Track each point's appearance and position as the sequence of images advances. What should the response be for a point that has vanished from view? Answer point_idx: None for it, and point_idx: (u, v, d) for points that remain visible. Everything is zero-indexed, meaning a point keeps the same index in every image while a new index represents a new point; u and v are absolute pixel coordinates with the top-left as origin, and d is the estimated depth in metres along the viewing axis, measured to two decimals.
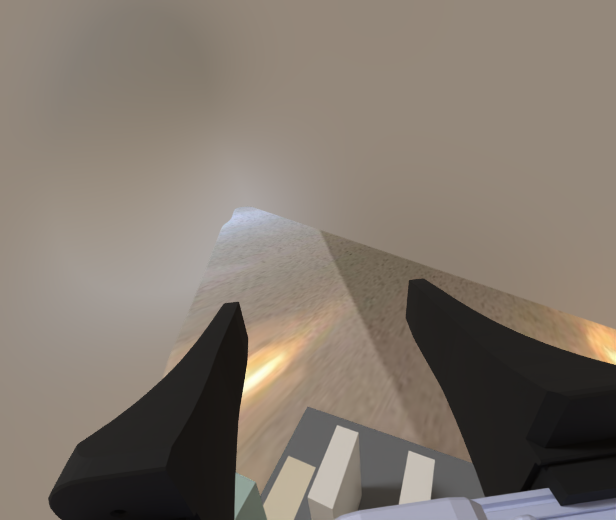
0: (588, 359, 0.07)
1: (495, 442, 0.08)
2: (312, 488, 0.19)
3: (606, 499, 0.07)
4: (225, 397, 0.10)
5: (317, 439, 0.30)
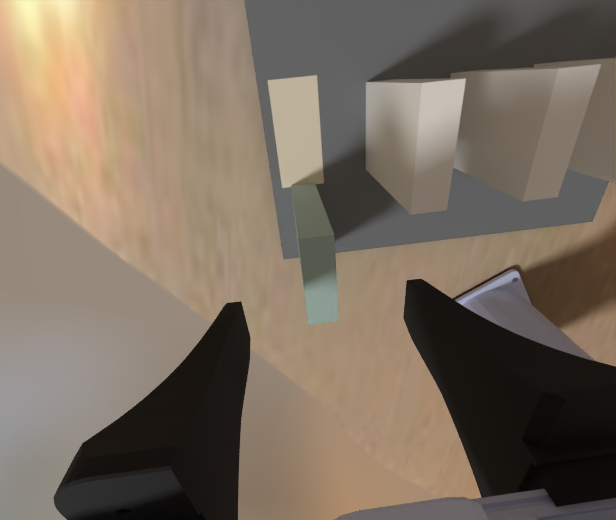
0: (584, 360, 0.07)
1: (492, 443, 0.08)
2: (413, 202, 0.13)
3: (606, 499, 0.07)
4: (228, 397, 0.10)
5: (295, 22, 0.16)
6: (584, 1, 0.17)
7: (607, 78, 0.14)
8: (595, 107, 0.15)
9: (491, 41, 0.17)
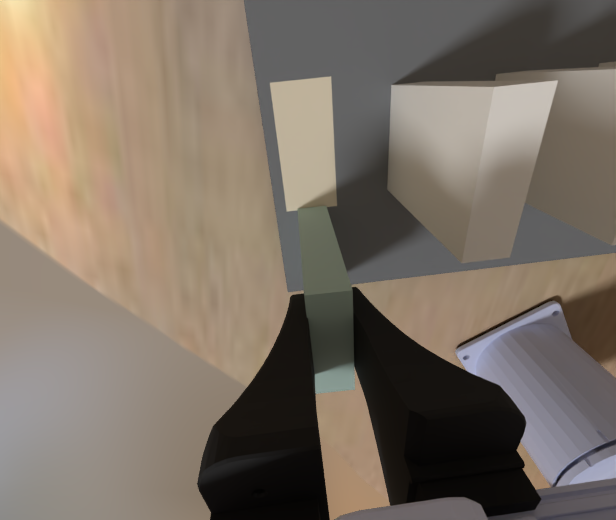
0: (471, 375, 0.07)
1: (391, 457, 0.08)
2: (466, 247, 0.10)
3: (606, 499, 0.07)
4: None
5: (305, 9, 0.13)
6: None
7: None
8: None
9: (550, 34, 0.14)
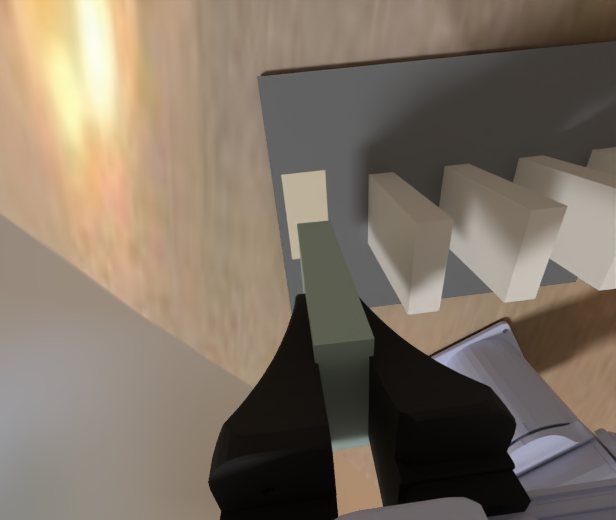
0: (462, 376, 0.07)
1: (384, 458, 0.08)
2: (410, 305, 0.15)
3: (606, 499, 0.07)
4: None
5: (306, 129, 0.18)
6: (562, 109, 0.19)
7: (579, 192, 0.16)
8: (569, 213, 0.17)
9: (481, 141, 0.20)
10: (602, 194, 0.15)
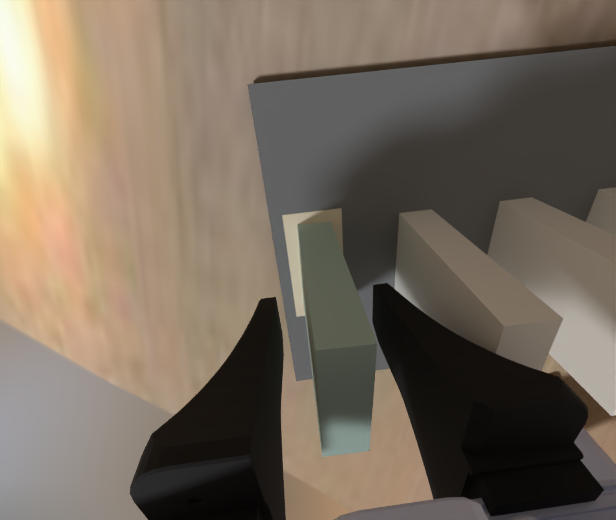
0: (526, 368, 0.07)
1: (440, 450, 0.08)
2: None
3: (606, 499, 0.07)
4: (273, 391, 0.10)
5: (317, 156, 0.13)
6: None
7: None
8: None
9: (551, 168, 0.15)
10: None
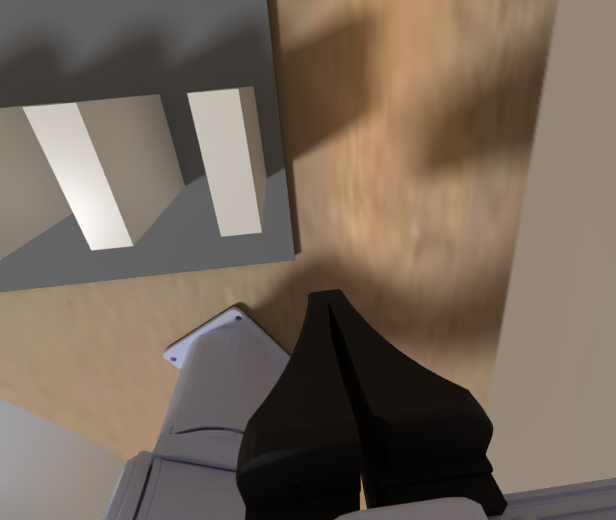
0: (441, 379, 0.07)
1: (365, 461, 0.08)
2: None
3: (606, 499, 0.07)
4: None
5: None
6: (150, 30, 0.15)
7: None
8: None
9: (62, 72, 0.16)
10: None
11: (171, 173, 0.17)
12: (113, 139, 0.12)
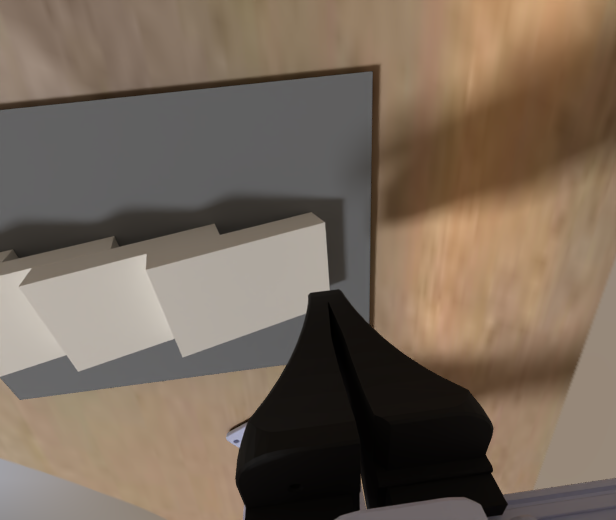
0: (441, 379, 0.07)
1: (365, 461, 0.08)
2: None
3: (606, 499, 0.07)
4: None
5: None
6: (250, 165, 0.15)
7: None
8: None
9: (157, 204, 0.15)
10: None
11: None
12: (76, 300, 0.13)
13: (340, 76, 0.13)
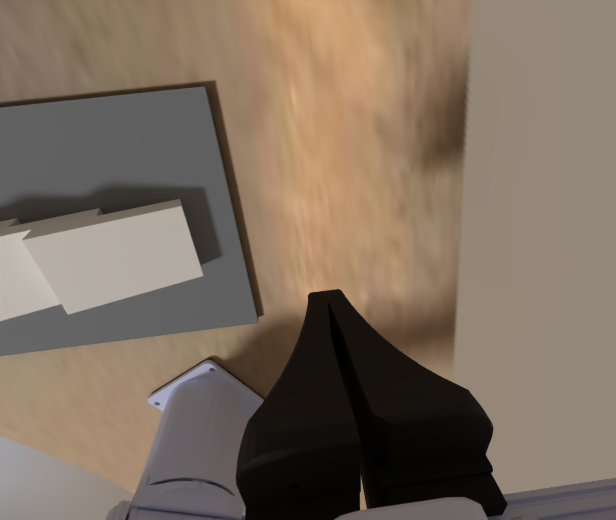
0: (441, 379, 0.07)
1: (365, 461, 0.08)
2: None
3: (606, 499, 0.07)
4: None
5: None
6: (121, 160, 0.18)
7: None
8: None
9: (49, 192, 0.19)
10: None
11: None
12: None
13: (179, 90, 0.17)
